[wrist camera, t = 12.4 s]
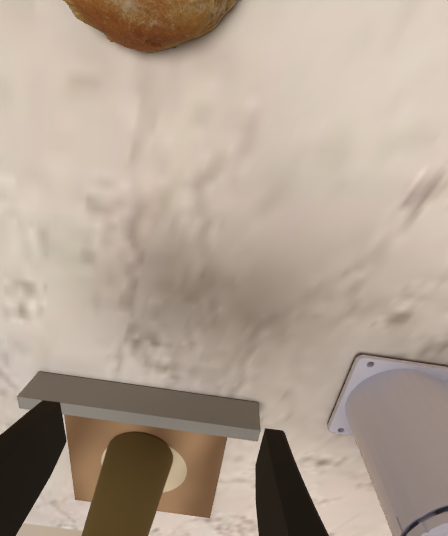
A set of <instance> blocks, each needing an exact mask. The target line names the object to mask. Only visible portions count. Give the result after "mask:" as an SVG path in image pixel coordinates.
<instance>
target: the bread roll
mask: <svg viewBox="0 0 448 536" xmlns="http://www.w3.org/2000/svg"><path fill="white" fill-rule="evenodd" d="M63 1H65V2H66V3H67V4H68V5H69V7H70V9H71V10H72V12H73V13H74V15H75V16H76V18H77V19H79V20H81V21H83V22H85V23H86V24H88V25H90V26H92V27H94V28H96V29H98V30H100V31H101V32H103V33H104V34H105V35H106V37H107V38H108V39H109V40H110V41H111V42H116V43H118V44H120V45H123V46H125V47H128V48H131V49H134V50H137V51H144V52H148V53H152V52H154V51H158V50H164V49H167V48H175V47H176V46H177V45H179V44H181V43H183V42H185V41H188V40H192V39H195V38H197V37H200V36H202V35H204V34H206V33H207V32H209V31H210V30H212V29H214V28H215V27H216V26H217V25H218V23H219V22H220V21H221V19H222V18H223V17H224V15H225V14H226V13H227V12H228V11H229V10H230V9H231V8H232V7H233V6H234V5H235V4H236V0H63Z"/></svg>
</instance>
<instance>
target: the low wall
mask: <svg viewBox="0 0 448 536" xmlns="http://www.w3.org/2000/svg"><path fill="white" fill-rule="evenodd" d="M17 399H18V403H19V408H22V409H29V410H31V409H32V408H34V407H35V406H36V405H37V404H38V403H40V402H41V401H42V400H46V401H53V402H60V405H61V411H62V414H65V415H72V416H79V417H86V418H93V419H101V420H108V421H115V422H122V423H129V424H136V425H144V426H151V427H158V428H165V429H172V430H179V431H187V432H194V433H201V434H208V435H215V436H222V437H230V438H237V439H244V440H251V441H258V438H259V434H260V417H259V404H258V402H251V401H244V400H237V399H230V398H223V397H216V396H209V395H201V394H194V393H187V392H180V391H173V390H166V389H159V388H152V387H145V386H138V385H131V384H124V383H117V382H109V381H102V380H95V379H88V378H81V377H74V376H67V375H60V374H53V373H46V372H38V373H37V374H36V375H35V376H34V378H33V379H32V380H31V381H30V382H29V383H28V385H27V386H26V387H25V388H24V389H23V390H22V391H21V393H20V394H19V395H18V396H17Z"/></svg>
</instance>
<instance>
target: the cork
mask: <svg viewBox="0 0 448 536" xmlns="http://www.w3.org/2000/svg"><path fill="white" fill-rule="evenodd" d="M172 463H173V454H172V451H171V449H170V448H169V447H168V446H167V445H166V444H165V443H164V442H163V441H161V440H160V439H158V438H156V437H154V436H151V435H148V434H145V433H137V432H132V433H124V434H121V435H118V436H116V437H115V438H113V439H112V440H111V441H110V442H109V445H108V447H107V450H106V454H105V457H104V461H103V464H102V468H101V471H100V475H99V478H98V481H97V485H96V488H95V492H94V495H93V499H92V502H91V506H90V509H89V512H88V516H87V519H86V523H85V526H84V530H83V533H82V536H148V534H149V531H150V528H151V525H152V522H153V520H154V517H155V514H156V511H157V508H158V505H159V502H160V499H161V496H162V493H163V490H164V487H165V484H166V481H167V478H168V475H169V472H170V469H171V466H172Z"/></svg>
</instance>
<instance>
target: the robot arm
mask: <svg viewBox="0 0 448 536" xmlns="http://www.w3.org/2000/svg"><path fill="white" fill-rule="evenodd" d="M368 362H371V363H368ZM328 429H329V431H330V432H332V433H337V434H344V435H351V436H354V437H355V440H356V442H357V445H358V448H359V450H360V453H361V455H362V458H363V461H364V463H365V466H366V468H367V471H368V473H369V476H370V479H371V481H372V484H373V486H374V489H375V491H376V494H377V497H378V499H379V502H380V504H381V507H382V510H383V512H384V515H385V517H386V520H387V522H388V525H389V528H390V530H391V533H392V535H393V536H448V367H445V366H438V365H431V364H424V363H417V362H410V361H404V360H397V359H390V358H383V357H376V356H369V355H359V356H358V357H356V359H355V361H354V363H353V365H352V368H351V370H350V373H349V375H348V377H347V380H346V382H345V385H344V387H343V389H342V392H341V394H340V397H339V399H338V401H337V404H336V406H335V409H334V411H333V413H332V416H331V418H330V421H329V423H328ZM65 443H66V436H65V430H64V423H63V417H62V411H61V405H60V402H53V401H46V400H42V401H41V402H40V403H38V404H37V405H36V406H35V407H34V408H32V409H31V410H30V411H29V412H28V413H26V414H25V415H24V416H23V417H22V418H20V419H19V420H18V421H17V422H16V423H14V424H13V425H12V426H11V427H10V428H8V429H7V430H6V431H5V432H4V433H2V434H1V435H0V536H16V534H17V532H18V531H19V529H20V527H21V526H22V524H23V522H24V520H25V519H26V517H27V515H28V514H29V512H30V510H31V509H32V507H33V505H34V503H35V502H36V500H37V498H38V497H39V495H40V493H41V491H42V490H43V488H44V486H45V485H46V483H47V481H48V479H49V478H50V476H51V474H52V472H53V470H54V467H55V465H56V463H57V461H58V459H59V457H60V455H61V452H62V450H63V448H64V446H65ZM256 509H257V520H258V531H259V536H329V535H328V533H327V531H326V529H325V527H324V525H323V523H322V521H321V519H320V516H319V514H318V512H317V510H316V508H315V506H314V504H313V501H312V499H311V497H310V495H309V493H308V491H307V488H306V486H305V484H304V481H303V479H302V477H301V474H300V472H299V470H298V467H297V465H296V462H295V460H294V457H293V455H292V452H291V449H290V447H289V444H288V441H287V438H286V435H285V433H284V432H283V431H282V430H274V429H266V428H265V431H264V435H263V439H262V443H261V446H260V450H259V454H258V458H257V462H256Z"/></svg>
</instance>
